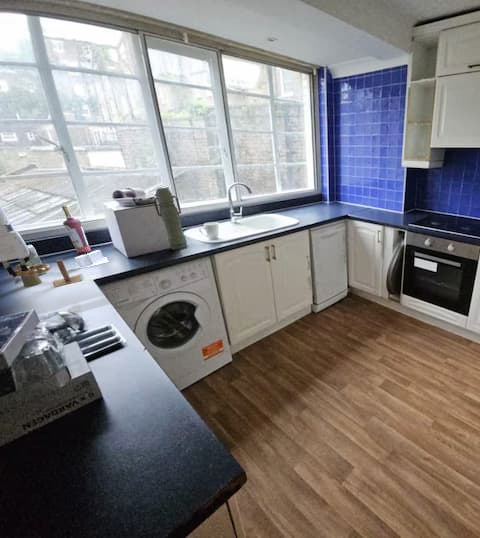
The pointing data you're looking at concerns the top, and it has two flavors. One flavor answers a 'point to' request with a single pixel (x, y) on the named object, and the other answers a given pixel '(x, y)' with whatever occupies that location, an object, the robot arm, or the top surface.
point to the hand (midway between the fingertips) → (20, 274)
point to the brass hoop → (33, 270)
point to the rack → (65, 276)
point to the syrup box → (34, 258)
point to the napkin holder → (91, 259)
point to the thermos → (170, 218)
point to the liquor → (75, 232)
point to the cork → (29, 278)
